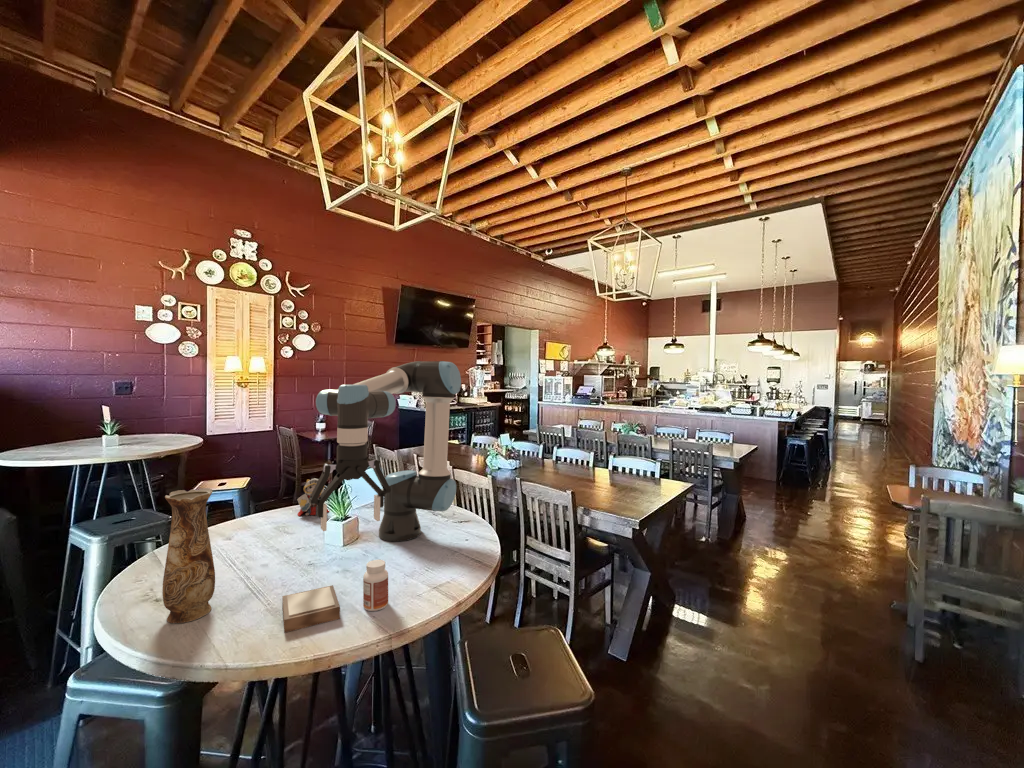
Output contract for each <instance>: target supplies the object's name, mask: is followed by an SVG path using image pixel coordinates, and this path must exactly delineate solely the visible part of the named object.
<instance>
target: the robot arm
mask: <svg viewBox="0 0 1024 768" xmlns="http://www.w3.org/2000/svg"><path fill="white" fill-rule="evenodd" d="M461 387H462V377H461V373H460V370H459V368H458V366H457V365H456V364H455V363H454V362H452V361H444V360H442V361H441V360H438V361H437V360H436V361H433V360H432V361H431V360H429V361H428V360H427V361H426V360H425V361H421V360H417V361H411V362H407V363H404V364H401V365H398V366H394V367H391V368H389V369H388V370H387V371H386V373H383V374H381V375H380V374H379V375H376V376H374V377H371V378H368V379H365V380H362V381H360V382H359V381H358V382H356V383H353V384H341V385H339V387H338V388H337V389H332V388H331V389H330V388H329V389H323V390H321V391H319V392H318V394H317V396H316V398H315V406H316V410H317V411H318V412H319V414H322V415H324V416H325V415H327V416H330V417H332V416H333V417H334V416H335V417H336V416H337V424H336V427H337V429H336V430H337V431H336V433H337V434H336V442H337V443H338V445H337V446H336V462H335V464H328V463H324V464H323V467H322V472H321V475H320V476H319V478H318V479H319V480H318V482H317V484H316V486H315V488H314V490H313V492H312V494H311V495H310V497H309V501H310V502H311V503H312V504H317V515H316V516H317V518H319V519H320V529H321V530H322V531H323V532H327V531H328V530H327V529H328V528H327V524H328V521H327V516H328V515H327V513H328V512H327V509H328V504H327V503H326V501H327V500H328V499H329V498H330V497H331V495H332V494H333V493H334V491H336V489H337V488H338V486H339V485H340V484H342V482H344V480H345V481H351V480H360V478H362V479H363V480H364V481H365V482H366V483H367V484H368V485H369V486H370V487H371V488H372V489H373V491H374V492H375V493H376V494H374V495H373V519H374V520H375V521H376V522H380V521H381V522H380V525H379V528H378V537H379V538H380V539H381V540H383V541H386V542H405V541H410V540H413V539H416V538H417V537H419V536H420V535H421V530H422V529H421V527H422V526H421V523H420V521H419V518H418V513H417V510H424V511H432V512H446V511H447V510H449V509H450V507H451V506H452V505H453V502H454V500H455V497H456V494H457V483H456V480H455V479H453V478H452V477H451V476H452V474H451V471H450V470H449V469H448V451H449V432H450V428H449V427H450V409H451V408H450V407H451V403H452V401H453V400H455V395H456V394H458V393H459V392H460V391H461ZM410 392H411V393H421V395H422V396H421V398H422V399H423V400H424V401H425V417H424V418H425V419H424V420H425V421H424V422H425V424H424V425H425V426H424V441H423V444H424V445H423V459H422V460H423V461H422V463H423V465H422V469H421V470H420V471H416V470H412V469H411V470H407V469H406V470H400V471H396V472H395V471H394V472H391V473H388V474H387V475H386V476H385V475H384V473H383V471H382V469H381V466H380V465H381V464H380V460H378V459H376V458H372V460H368V444H367V442H368V440H369V437H368V435H369V433H368V431H369V429H368V427H369V425H368V424H369V419H377V418H381V419H382V418H384V417H388V416H390V415H392V414H393V413H394V412H395V409H396V405H397V404H396V398H395V397H394V395H393V394H396V395H398V394H399V395H400V394H403V393H410ZM369 467H370V468H371V469H372V470H373V472H374V474H375V476H376V478H377V480H378V482H379V483H380V486H381V487H382V488H380V486H379V485H378V484H377V482H375V481H374V480H373V478H371V476H370V475H369V474H368V473H367V472H366V471H367V469H368V468H369ZM334 470H335V471H336V475H335V476H334V477H333V479H332V480H331V482H329V484H328V485H327V486H326V483H327V481H328V479H329V477H330V474H332V473H333V471H334ZM324 486H326V487H325V490H324V491H323V493H322V494H321V495H320V493H321V491H322V489H323V487H324ZM319 495H320V496H319ZM381 508H383V516H382V520H381Z"/></svg>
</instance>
